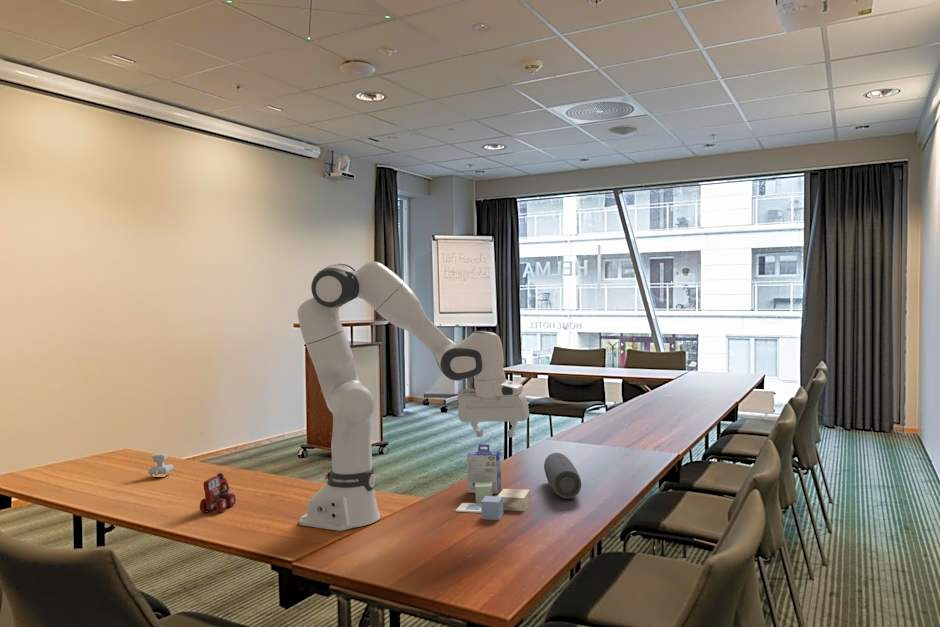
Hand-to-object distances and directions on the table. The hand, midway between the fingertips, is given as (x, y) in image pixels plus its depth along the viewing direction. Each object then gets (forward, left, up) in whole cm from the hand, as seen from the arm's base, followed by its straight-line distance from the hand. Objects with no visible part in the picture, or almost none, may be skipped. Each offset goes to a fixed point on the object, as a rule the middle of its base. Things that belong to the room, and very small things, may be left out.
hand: (495, 436), depth 181 cm
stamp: (-134, +23, -22) cm, 138 cm away
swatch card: (-8, +3, -22) cm, 23 cm away
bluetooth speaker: (+15, +23, -22) cm, 35 cm away
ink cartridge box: (-9, +20, -22) cm, 31 cm away
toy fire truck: (-86, -8, -22) cm, 89 cm away
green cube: (-7, +11, -22) cm, 25 cm away
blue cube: (-1, -3, -22) cm, 22 cm away
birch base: (+3, +7, -22) cm, 23 cm away
